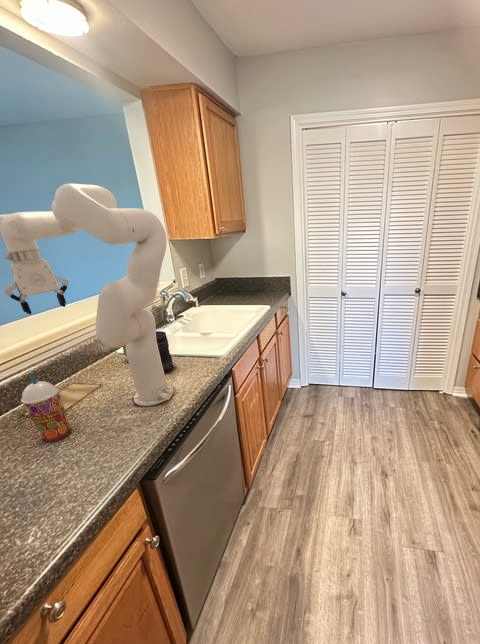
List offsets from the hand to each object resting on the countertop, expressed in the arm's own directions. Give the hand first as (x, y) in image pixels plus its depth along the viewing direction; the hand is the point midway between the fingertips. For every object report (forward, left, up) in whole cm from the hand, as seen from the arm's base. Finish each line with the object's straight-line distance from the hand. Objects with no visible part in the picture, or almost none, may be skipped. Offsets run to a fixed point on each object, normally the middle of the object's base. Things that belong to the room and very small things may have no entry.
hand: (46, 309), depth 108 cm
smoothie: (-25, +19, -30) cm, 43 cm away
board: (-5, +7, -30) cm, 31 cm away
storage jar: (-18, -23, -30) cm, 42 cm away
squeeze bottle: (+2, -26, -30) cm, 40 cm away
